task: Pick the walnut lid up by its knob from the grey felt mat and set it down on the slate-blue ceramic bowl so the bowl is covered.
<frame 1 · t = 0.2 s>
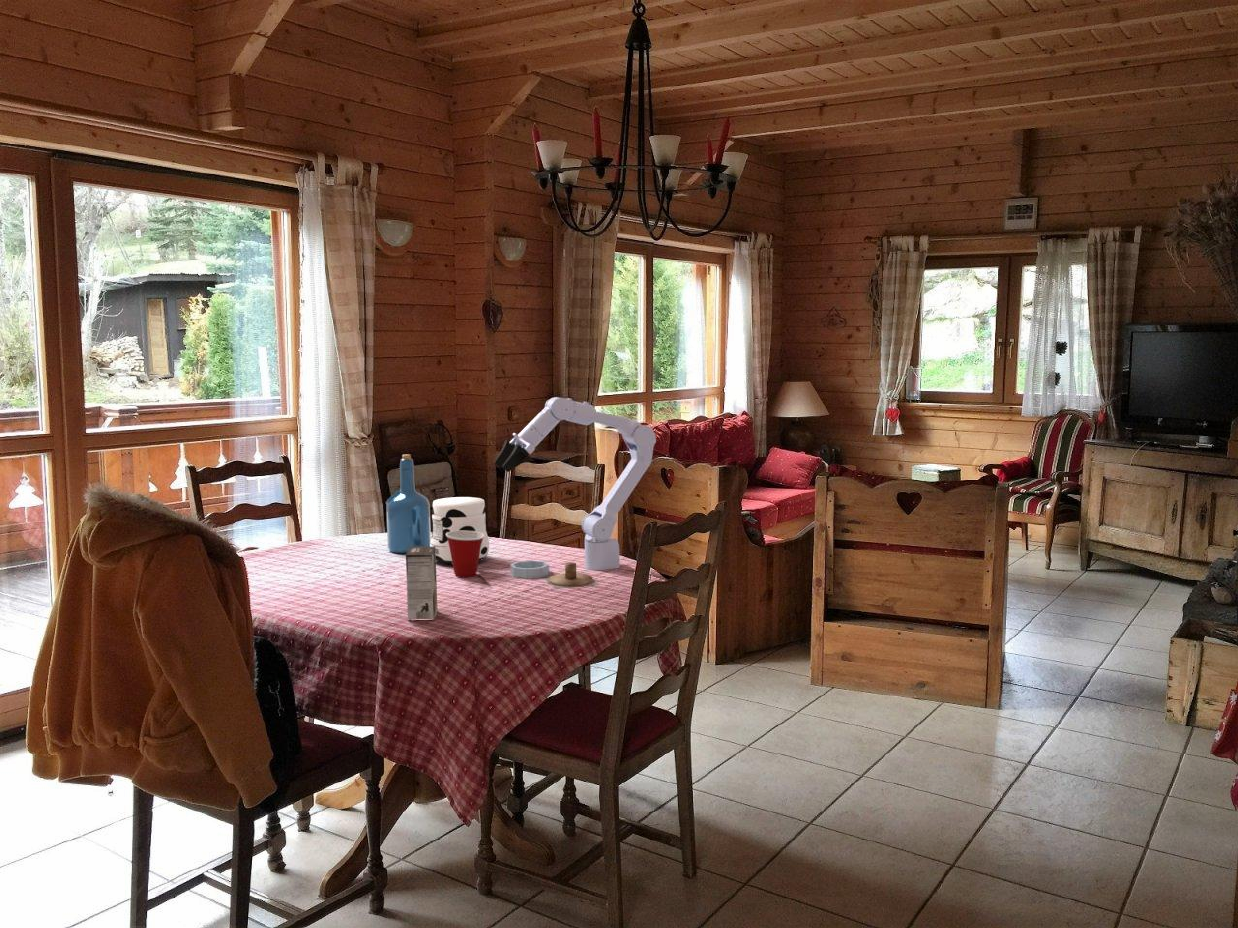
hand: (500, 467, 276), 31 cm above the table, tool tilted 45°, fingers open, 7 cm apart
lid: (570, 581, 274), point 1 cm above the table, touching mat
coffee box: (423, 616, 245), on the table
mat: (570, 584, 274), on the table
milk container: (460, 561, 304), on the table
wine bottle: (409, 550, 319), on the table
bowl: (529, 577, 283), on the table
plastic cup: (466, 576, 285), on the table
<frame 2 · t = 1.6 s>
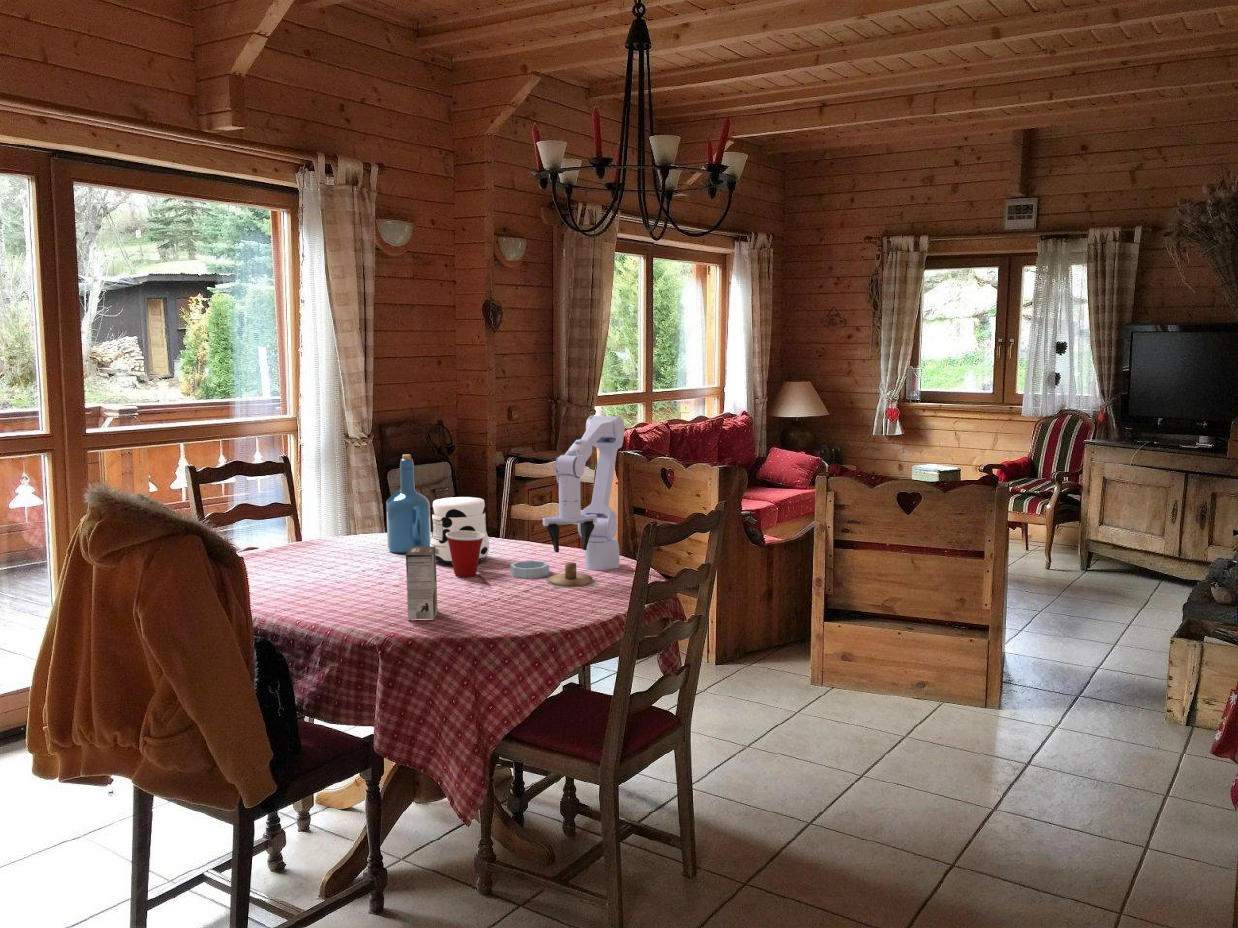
hand: (570, 550, 272), 9 cm above the table, tool pointing down, fingers open, 7 cm apart
nothing on the table moved.
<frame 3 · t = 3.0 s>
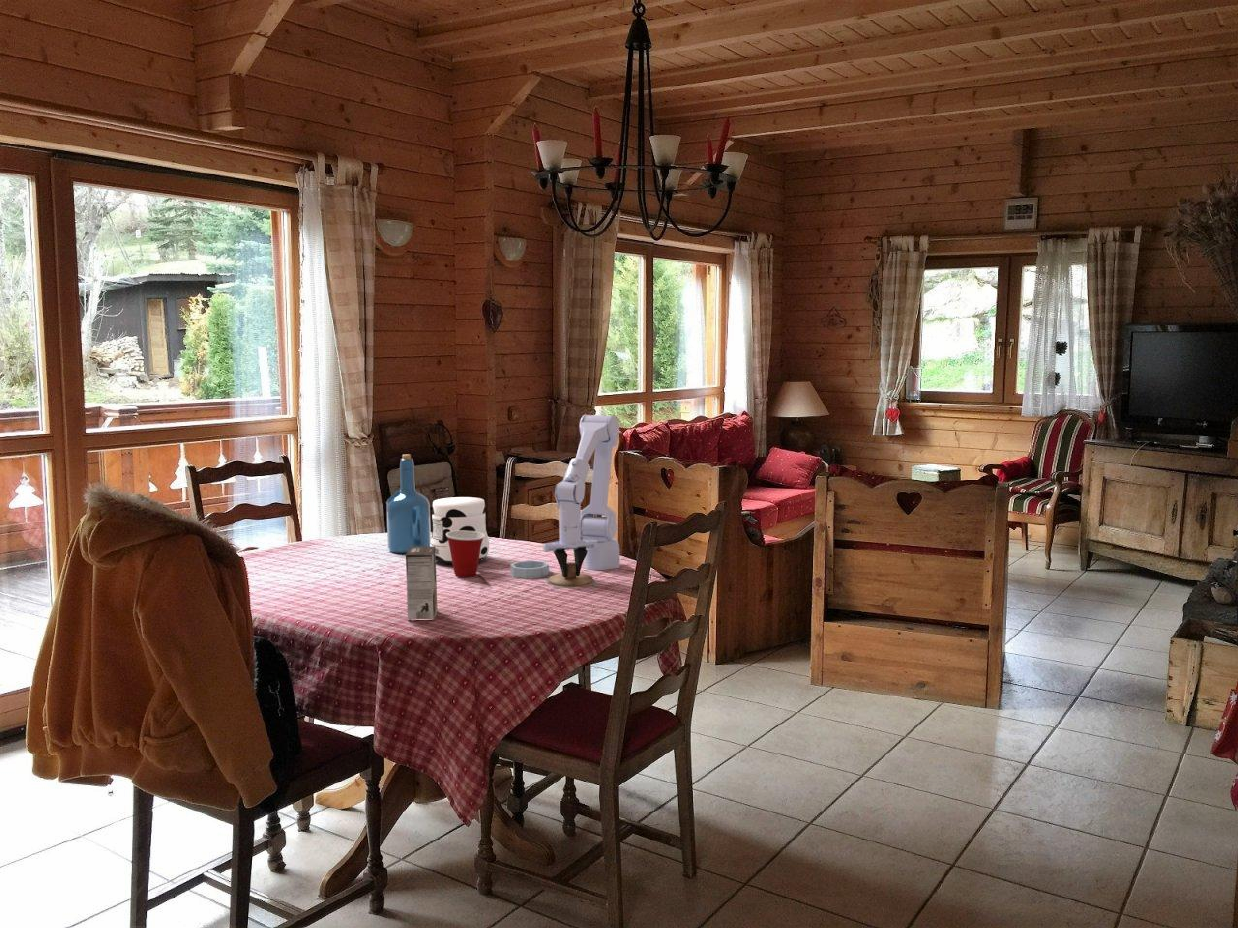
hand: (570, 576, 273), 2 cm above the table, tool pointing down, fingers closed on lid, 3 cm apart
lid: (570, 581, 274), point 1 cm above the table, touching gripper, mat
everything else where it was.
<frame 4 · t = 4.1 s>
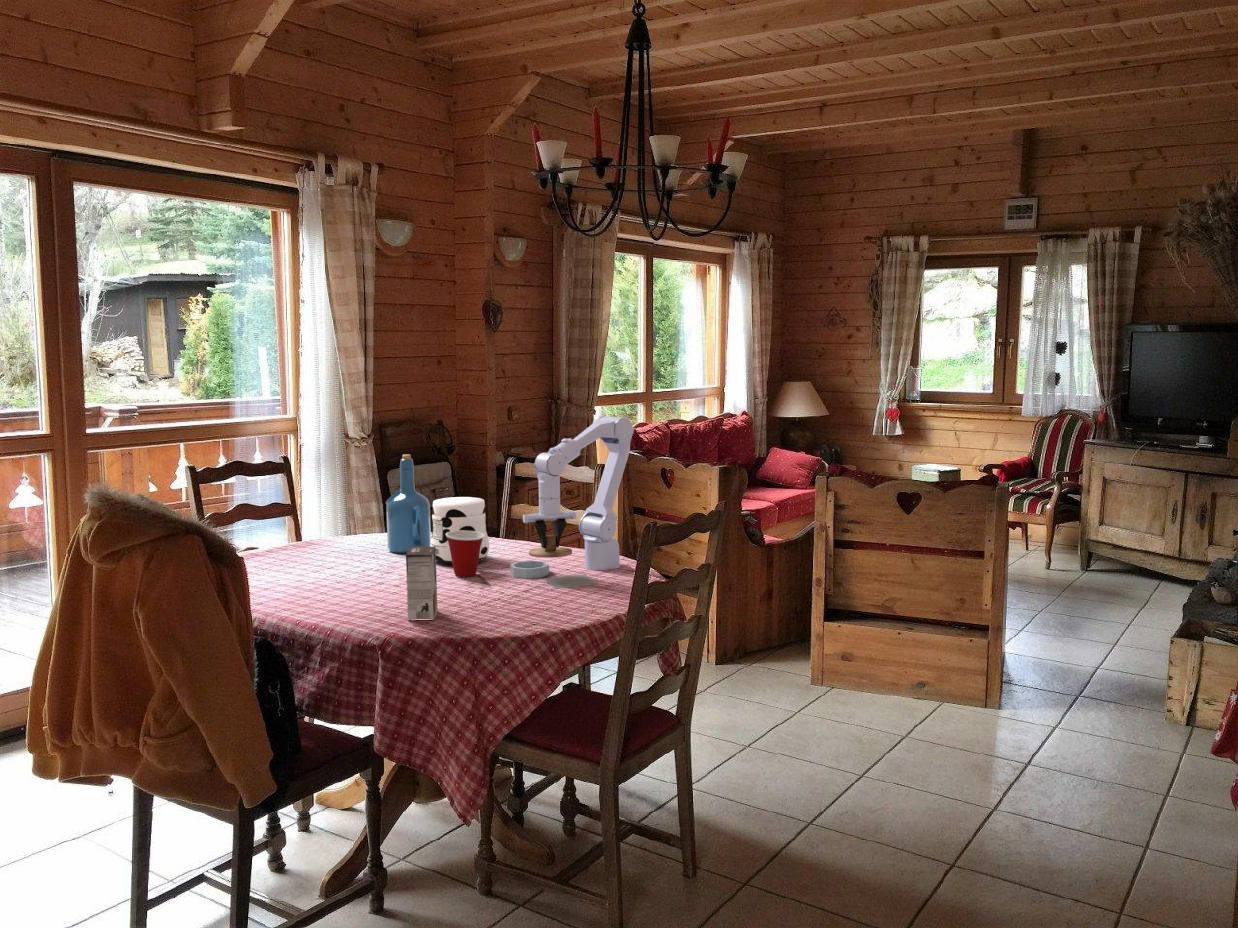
hand: (550, 547, 277), 9 cm above the table, tool pointing down, fingers closed on lid, 3 cm apart
lid: (550, 553, 277), point 8 cm above the table, touching gripper
everything else where it was.
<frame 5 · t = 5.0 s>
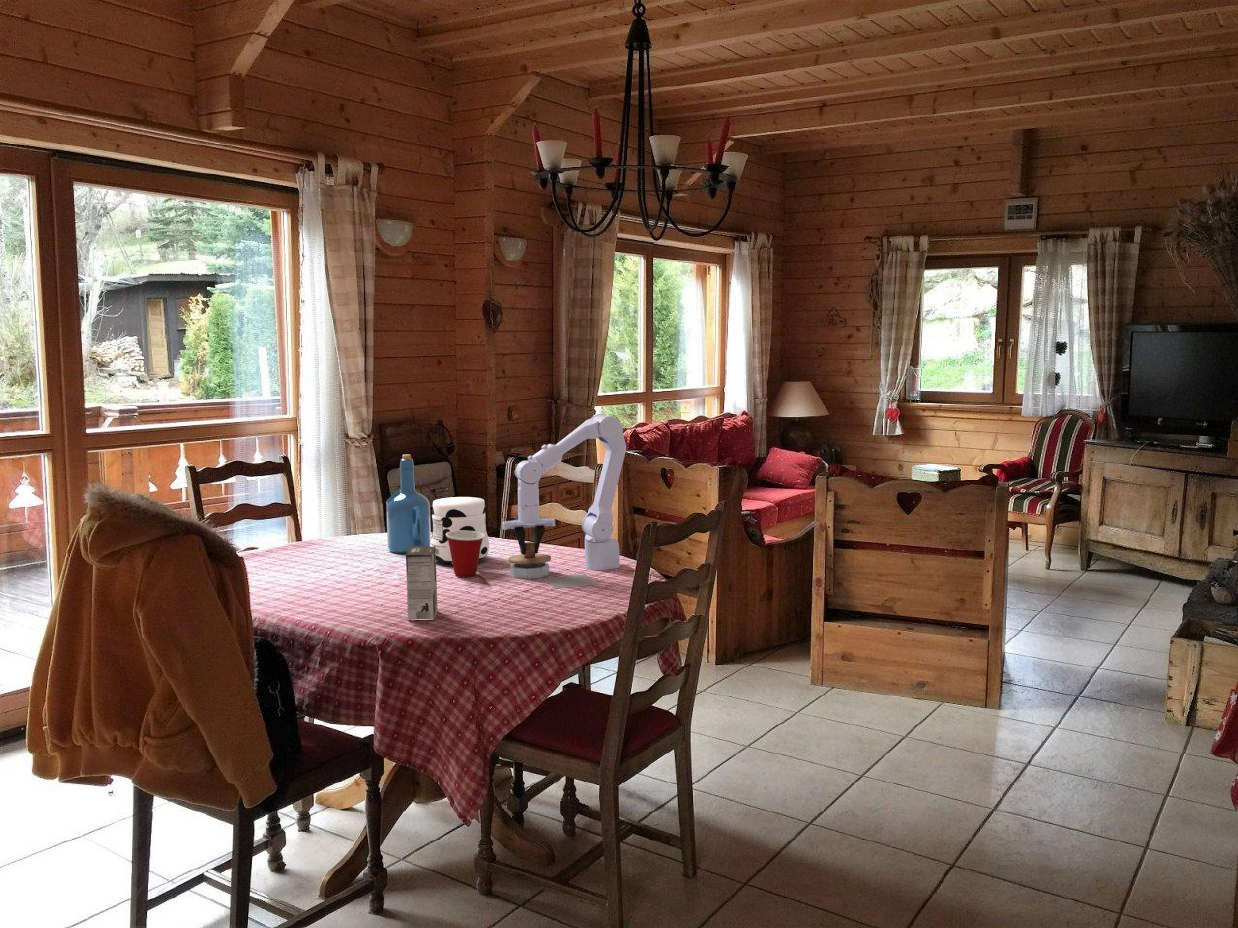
hand: (529, 553, 282), 7 cm above the table, tool pointing down, fingers closed on lid, 3 cm apart
lid: (529, 560, 282), point 5 cm above the table, touching gripper
everything else where it was.
when the fingers open (6 cm above the table, at t = 5.4 s): lid stays where it is, resting on bowl.
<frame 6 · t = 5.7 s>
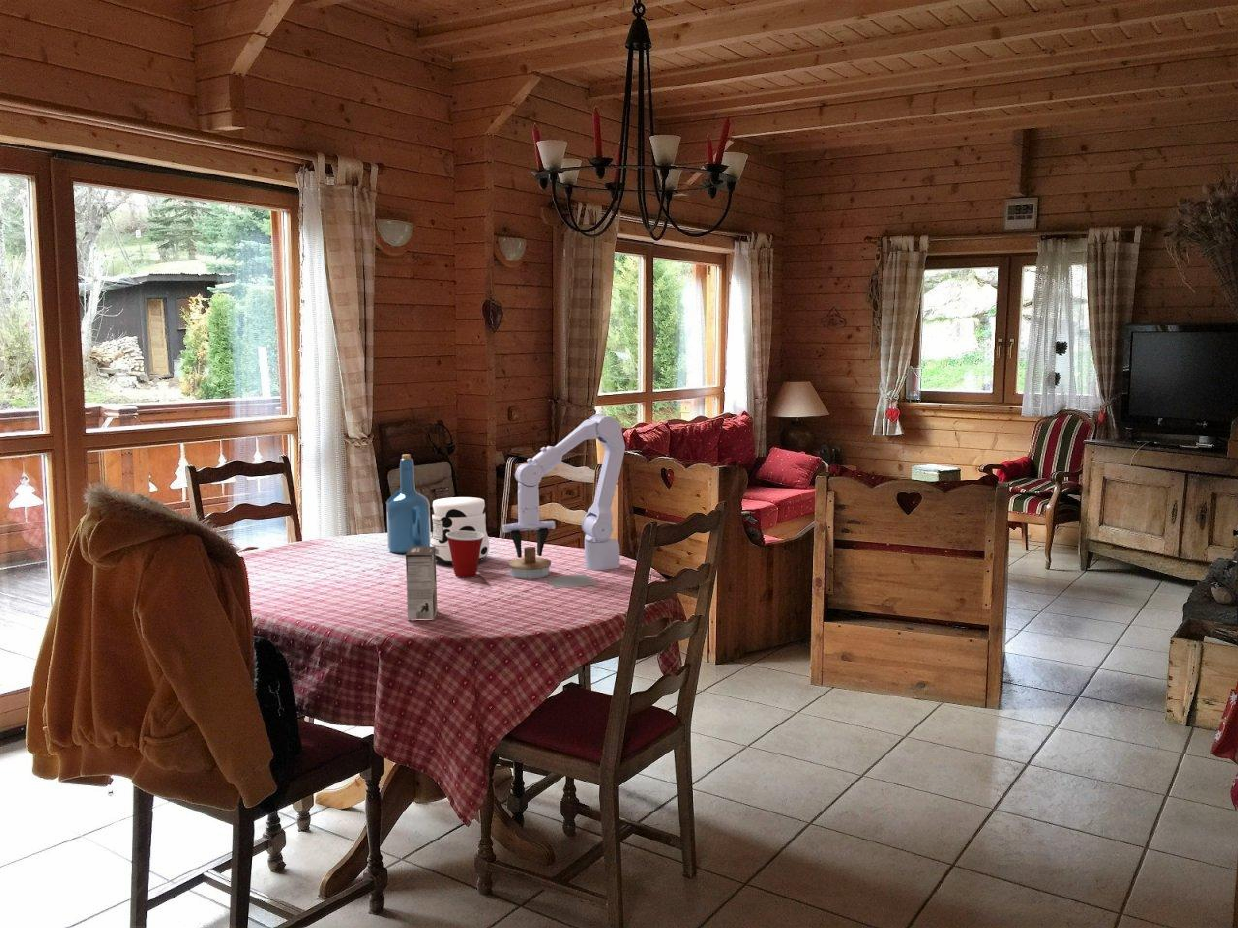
hand: (529, 556, 282), 6 cm above the table, tool pointing down, fingers open, 5 cm apart
lid: (530, 565, 282), point 3 cm above the table, touching bowl
everything else where it was.
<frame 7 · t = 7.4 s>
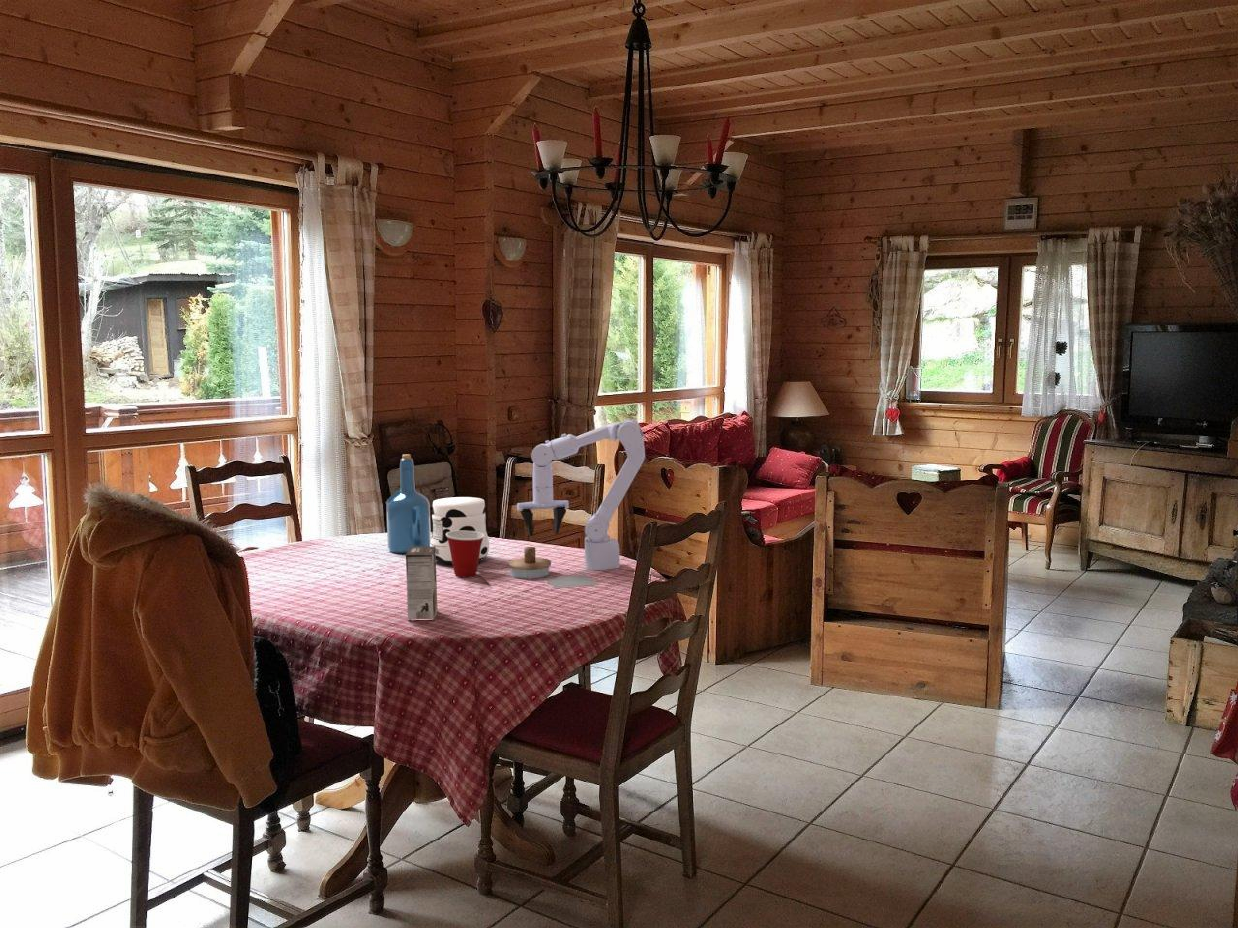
hand: (543, 534, 289), 10 cm above the table, tool pointing down, fingers open, 7 cm apart
nothing on the table moved.
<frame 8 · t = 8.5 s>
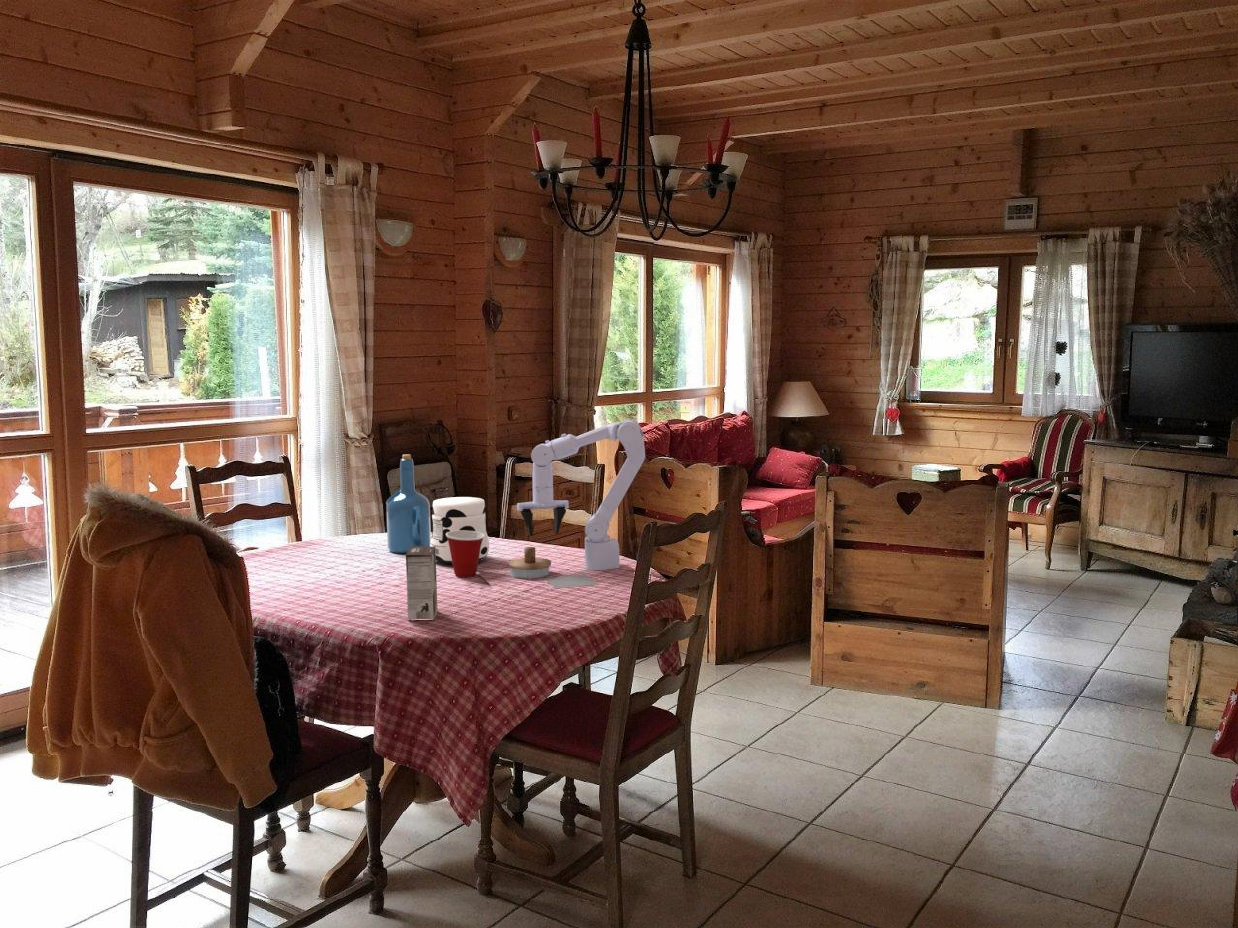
hand: (543, 534, 289), 10 cm above the table, tool pointing down, fingers open, 7 cm apart
nothing on the table moved.
at the end: lid 0.5 cm off-centre on the bowl, point 3.5 cm above the bowl's base; lid tilted 0°; the gripper is holding nothing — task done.
